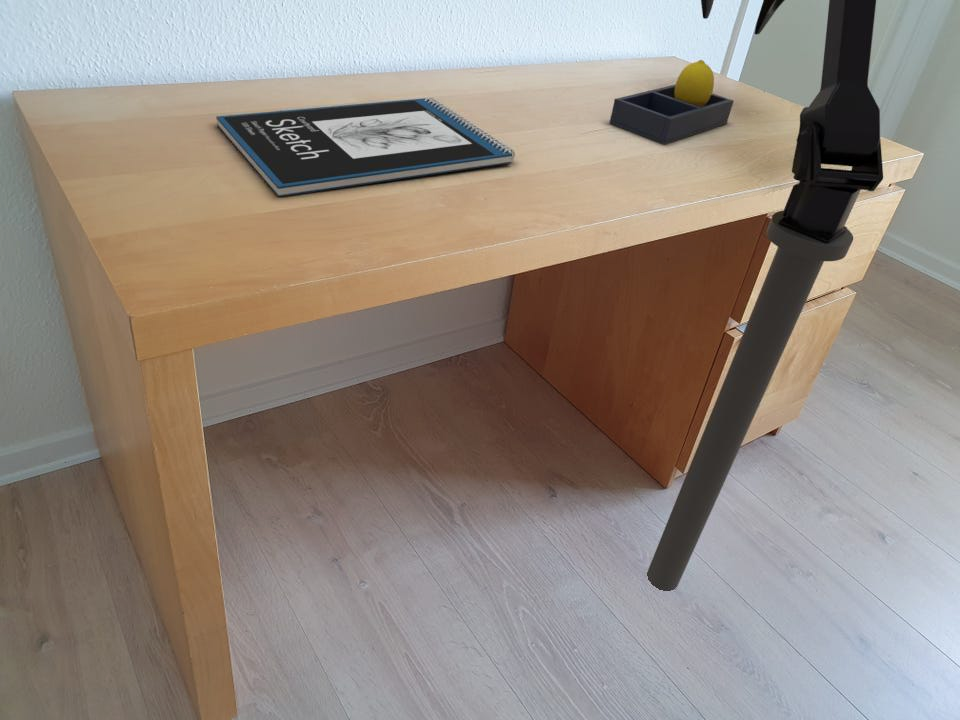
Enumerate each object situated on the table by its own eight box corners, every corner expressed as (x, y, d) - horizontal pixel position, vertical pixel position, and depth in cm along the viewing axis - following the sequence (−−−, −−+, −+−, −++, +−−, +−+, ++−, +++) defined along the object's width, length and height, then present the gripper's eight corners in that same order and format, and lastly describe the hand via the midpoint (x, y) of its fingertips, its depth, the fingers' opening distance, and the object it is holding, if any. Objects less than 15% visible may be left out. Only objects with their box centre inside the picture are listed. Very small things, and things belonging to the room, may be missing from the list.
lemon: (698, 110, 113) (714, 57, 108) (708, 121, 109) (725, 67, 104) (664, 106, 112) (678, 53, 108) (673, 118, 108) (688, 62, 103)
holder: (726, 123, 112) (734, 100, 109) (664, 144, 100) (671, 119, 98) (674, 105, 116) (680, 82, 114) (609, 123, 105) (614, 98, 103)
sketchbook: (216, 127, 87) (215, 110, 86) (432, 109, 102) (433, 94, 100) (278, 198, 73) (277, 178, 72) (517, 165, 88) (520, 148, 86)
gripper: (850, -77, 104) (807, 36, 113) (735, -101, 113) (705, 6, 122) (818, -76, 97) (776, 45, 106) (700, -101, 106) (670, 12, 116)
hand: (730, 26), depth 113 cm, fingers open, 9 cm apart
